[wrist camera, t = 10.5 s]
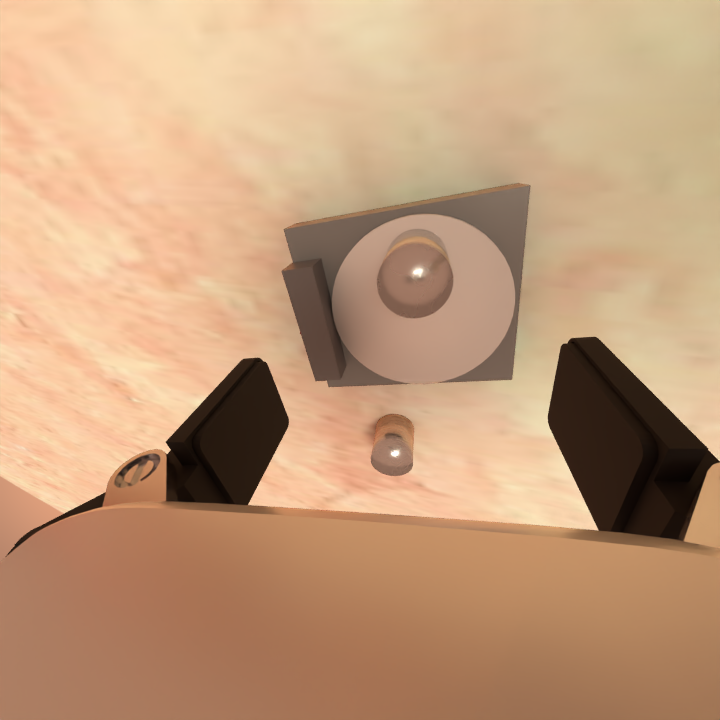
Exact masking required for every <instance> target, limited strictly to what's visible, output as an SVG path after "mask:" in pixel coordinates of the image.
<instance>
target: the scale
mask: <svg viewBox="0 0 720 720" xmlns="http://www.w3.org/2000/svg"><path fill="white" fill-rule="evenodd" d="M529 193H530V185H526V184H521V183H517V184H511V185H506V186H500V187H495V188H489V189H483V190H478V191H472V192H467V193H461V194H456V195H450V196H445V197H439V198H434V199H428V200H423V201H417V202H412V203H406V204H401V205H395V206H390V207H384V208H379V209H373V210H368V211H362V212H357V213H351V214H346V215H340V216H335V217H329V218H323V219H318V220H312V221H307V222H301V223H296V224H294V225H292V226H290V227H288V228H285V229H284V232H285V236H286V239H287V243H288V246H289V250H290V253H291V257H292V260H293V263H292V264H290V265H289V266H288V267H286V268H285V269H284V270H282V274H283V277H284V280H285V284H286V287H287V290H288V293H289V297H290V300H291V303H292V306H293V310H294V313H295V316H296V319H297V322H298V326H299V329H300V334H301V335H302V339H303V342H304V345H305V348H306V352H307V355H308V358H309V361H310V365H311V368H312V371H313V374H314V377H315V381H326V380H327V383H328V386H329V387H342V386H367V385H392V384H430V383H441V382H466V381H491V380H512V375H513V364H514V354H515V343H516V332H517V322H518V311H519V300H520V289H521V279H522V268H523V257H524V247H525V236H526V225H527V215H528V204H529ZM411 229H425V230H429V231H431V232H433V233H435V234H436V235H437V236H438V237H439V238H440V239H441V240H442V241H443V243H444V245H445V247H446V250H447V254H448V257H449V261H450V265H451V268H452V272H453V288H452V291H451V294H450V296H449V298H448V300H447V301H446V303H445V304H444V305H443V306H442V307H441V308H440V309H439V310H438V311H436V312H435V313H433V314H431V315H428V316H426V317H422V318H406V317H402V316H399V315H397V314H395V313H393V312H392V311H390V310H389V309H388V308H387V307H386V306H385V305H384V303H383V302H382V300H381V298H380V296H379V293H378V289H377V277H378V273H379V269H380V267H381V265H382V262H383V260H384V257H385V255H386V253H387V250H388V248H389V246H390V244H391V243H392V241H393V240H394V239H395V238H396V237H397V236H398V235H400V234H401V233H403V232H405V231H408V230H411Z"/></svg>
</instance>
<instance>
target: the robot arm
mask: <svg viewBox="0 0 720 720" xmlns="http://www.w3.org/2000/svg"><path fill="white" fill-rule="evenodd" d="M548 423H549V427H550V429H551V431H552V433H553V435H554V437H555V440H556V442H557V444H558V446H559V448H560V450H561V452H562V454H563V456H564V458H565V461H566V463H567V465H568V467H569V469H570V471H571V473H572V475H573V477H574V479H575V482H576V484H577V486H578V488H579V490H580V492H581V494H582V496H583V498H584V500H585V502H586V505H587V507H588V509H589V511H590V513H591V515H592V517H593V519H594V521H595V523H596V526H597V528H598V530H599V531H597V530H585V529H574V528H563V527H551V526H540V525H527V524H514V523H500V522H486V521H473V520H459V519H445V518H432V517H418V516H403V515H389V514H374V513H359V512H345V511H330V510H315V509H300V508H283V507H267V506H251V505H248V503H249V502H250V500H251V498H252V496H253V494H254V492H255V490H256V488H257V486H258V484H259V482H260V480H261V478H262V476H263V474H264V472H265V471H266V469H267V467H268V465H269V463H270V461H271V459H272V457H273V455H274V453H275V451H276V449H277V447H278V445H279V443H280V442H281V440H282V438H283V436H284V434H285V432H286V430H287V428H288V424H289V419H288V416H287V413H286V411H285V408H284V406H283V403H282V400H281V398H280V395H279V393H278V390H277V388H276V385H275V382H274V380H273V377H272V375H271V372H270V370H269V367H268V365H267V363H266V362H263V360H262V359H260V358H248V359H243V360H241V361H240V362H239V364H238V365H237V366H236V367H235V368H234V369H233V370H232V371H231V372H230V373H229V374H228V375H227V376H226V378H225V379H224V380H223V381H222V382H221V383H220V384H219V385H218V386H217V387H216V388H215V389H214V390H213V392H212V393H211V394H210V395H209V396H208V397H207V398H206V399H205V400H204V401H203V402H202V403H201V405H200V406H199V407H198V408H197V409H196V410H195V411H194V412H193V413H192V414H191V415H190V416H189V417H188V419H187V420H186V421H185V422H184V423H183V424H182V425H181V426H180V427H179V428H178V429H177V430H176V431H175V433H174V434H173V435H172V436H171V437H170V438H169V439H168V440H167V441H166V443H167V445H168V446H169V448H170V449H171V451H170V452H169V453H168V454H166V453H165V452H164V451H162V450H158V449H154V450H148V451H146V452H143V453H140V454H138V455H136V456H134V457H132V458H131V459H129V460H128V461H126V462H125V463H124V464H122V465H121V466H120V467H119V468H118V469H117V470H116V471H115V472H114V474H113V475H112V476H111V477H110V480H109V482H108V485H107V489H106V492H105V493H103V494H101V495H99V496H97V497H96V498H94V499H92V500H90V501H88V502H86V503H84V504H82V505H80V506H78V507H76V508H74V509H72V510H70V511H68V512H66V513H65V514H63V515H61V516H59V517H57V518H55V519H53V520H51V521H49V522H47V523H46V524H43V525H42V526H39V527H37V528H35V529H33V530H31V531H30V532H28V533H27V534H26V535H24V536H23V537H22V538H21V539H20V540H19V541H18V542H17V543H16V544H15V546H14V547H13V549H11V551H10V552H9V553H8V555H7V556H6V557H5V558H4V559H3V560H2V561H1V562H0V720H720V461H719V460H718V459H717V458H716V457H715V456H714V455H713V454H712V453H711V452H710V451H709V450H708V448H707V447H706V446H705V445H704V444H703V443H702V442H701V441H700V440H699V439H698V438H697V437H696V436H695V435H694V434H693V433H692V432H691V431H690V430H689V429H688V428H687V427H686V426H685V425H684V424H683V423H682V422H681V421H680V420H679V419H678V418H677V417H676V416H675V415H674V414H673V413H672V412H671V411H670V410H669V409H668V408H667V407H666V406H665V405H664V404H663V403H662V402H661V401H660V400H659V399H658V398H657V397H656V396H655V395H654V394H653V393H652V392H651V391H650V390H649V389H648V388H647V387H646V386H645V385H644V384H643V383H642V382H641V381H640V380H639V379H638V378H637V377H636V376H635V375H634V374H633V373H632V372H631V371H630V370H629V369H628V368H627V367H626V366H625V365H624V364H623V363H622V362H621V361H620V360H619V359H618V358H617V357H616V356H615V355H614V354H613V353H612V352H611V351H610V350H609V349H608V348H607V347H606V346H605V345H604V344H603V343H602V342H601V341H600V340H599V339H598V338H597V337H584V338H571V339H570V340H569V342H568V344H563V345H562V346H561V349H560V354H559V359H558V365H557V370H556V375H555V381H554V386H553V391H552V397H551V402H550V407H549V413H548Z"/></svg>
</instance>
